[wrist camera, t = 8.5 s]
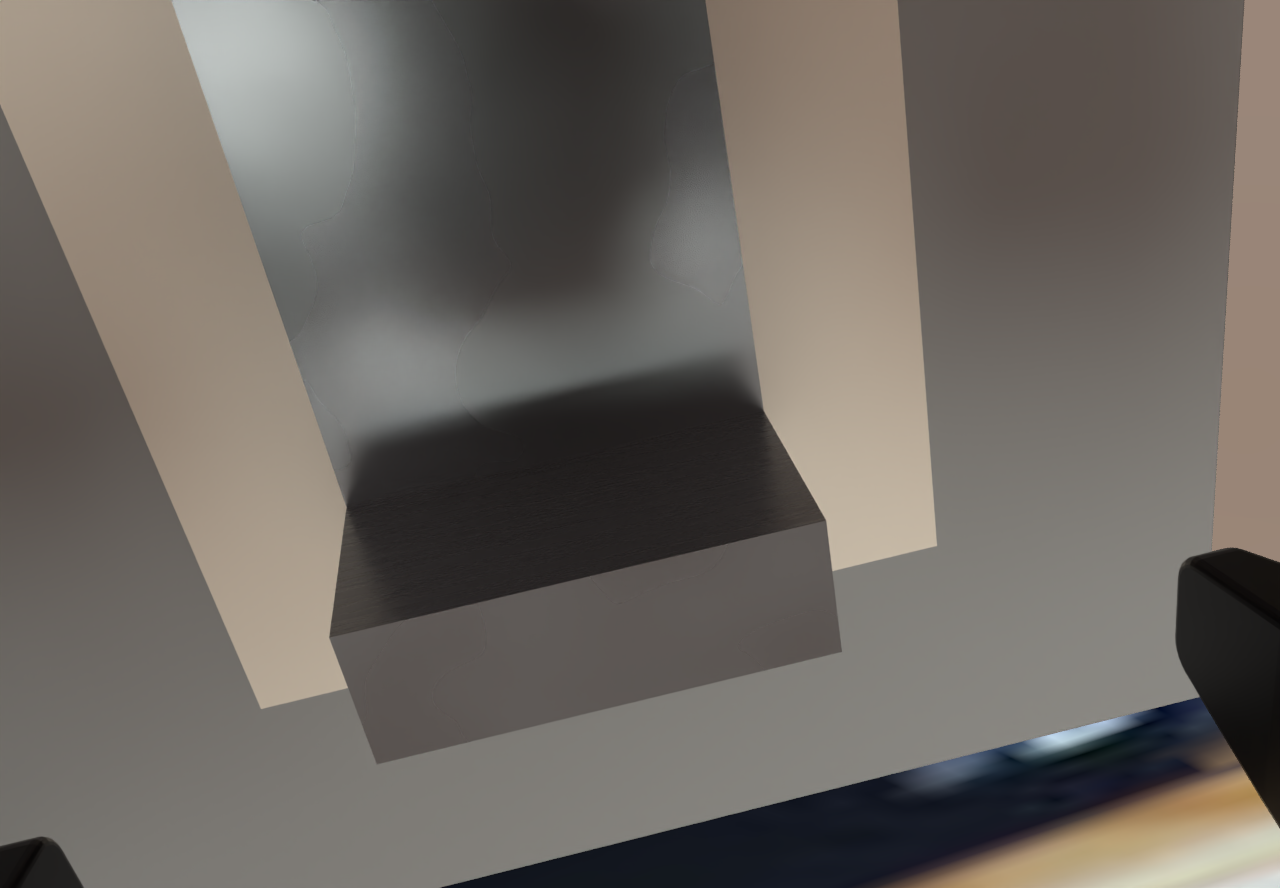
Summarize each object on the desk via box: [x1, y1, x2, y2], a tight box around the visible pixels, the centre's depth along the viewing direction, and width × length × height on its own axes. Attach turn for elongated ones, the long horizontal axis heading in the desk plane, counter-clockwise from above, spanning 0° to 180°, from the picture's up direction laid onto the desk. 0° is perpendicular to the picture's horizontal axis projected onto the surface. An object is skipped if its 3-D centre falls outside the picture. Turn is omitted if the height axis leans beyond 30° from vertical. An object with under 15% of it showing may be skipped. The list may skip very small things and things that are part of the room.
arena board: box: [0, 0, 1244, 888], centre depth 13 cm, size 19×18×1 cm
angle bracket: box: [171, 0, 842, 764], centre depth 11 cm, size 7×4×4 cm, turn 10°
